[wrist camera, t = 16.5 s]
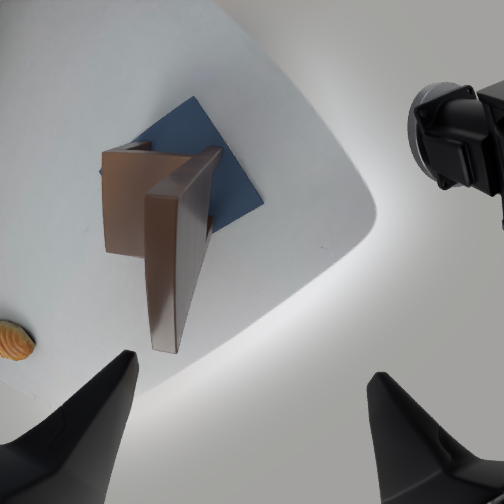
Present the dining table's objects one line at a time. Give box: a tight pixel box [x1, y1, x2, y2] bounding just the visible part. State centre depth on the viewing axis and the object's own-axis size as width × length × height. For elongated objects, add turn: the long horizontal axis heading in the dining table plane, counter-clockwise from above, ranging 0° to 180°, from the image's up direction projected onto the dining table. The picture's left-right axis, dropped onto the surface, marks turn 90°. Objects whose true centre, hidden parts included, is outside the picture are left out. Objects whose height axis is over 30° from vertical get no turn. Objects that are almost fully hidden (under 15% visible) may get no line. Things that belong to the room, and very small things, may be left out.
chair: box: [102, 141, 223, 354], centre depth 13 cm, size 6×6×12 cm
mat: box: [99, 96, 264, 233], centre depth 19 cm, size 9×9×1 cm
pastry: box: [0, 320, 35, 361], centre depth 26 cm, size 9×7×4 cm
